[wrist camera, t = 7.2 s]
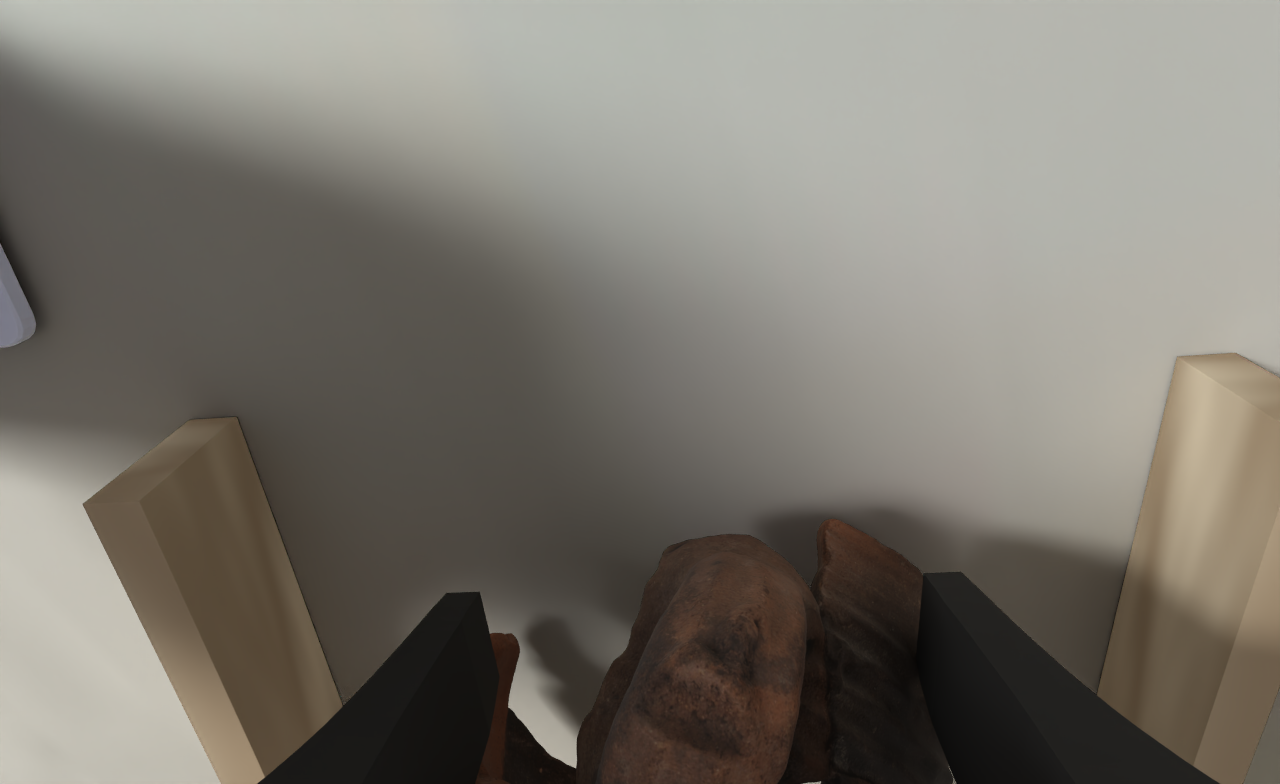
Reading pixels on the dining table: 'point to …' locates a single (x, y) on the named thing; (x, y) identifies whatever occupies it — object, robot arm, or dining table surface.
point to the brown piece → (750, 676)
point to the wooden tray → (1130, 682)
